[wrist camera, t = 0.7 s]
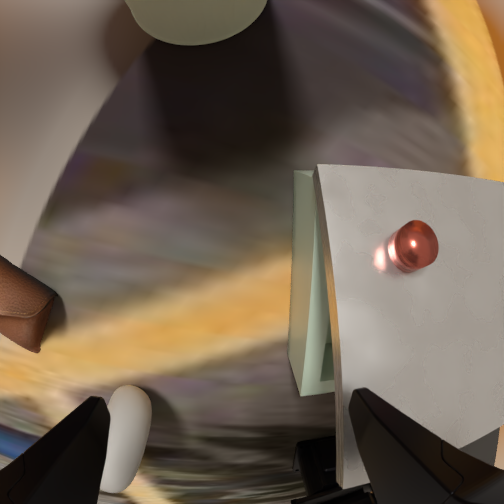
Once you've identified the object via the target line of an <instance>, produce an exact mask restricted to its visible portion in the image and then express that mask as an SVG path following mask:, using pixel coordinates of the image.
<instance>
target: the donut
mask: <svg viewBox="0 0 504 504" xmlns="http://www.w3.org/2000/svg"><path fill="white" fill-rule="evenodd" d="M107 408H108V410H109V412H110V416H111V421H110V429H109V438H108V447H107V456H106V462H105V466H104V471H103V476H102V480H101V485H100V489H101V490H103V491H105V492H109V493H118V492H121V491H123V490H124V489H126V488H127V487H128V486H129V485H130V484H131V482H132V481H133V479H134V477H135V475H136V473H137V470H138V468H139V465H140V462H141V459H142V456H143V453H144V450H145V446H146V443H147V439H148V435H149V430H150V425H151V418H152V406H151V401H150V399H149V397H148V395H147V394H146V393H145V392H144V391H143V390H141V389H140V388H138V387H136V386H132V385H124V386H121V387H119V388H118V389H117V390H115V391H114V393H113V395H112V397H111V399H110V401H109V404H108V406H107Z"/></svg>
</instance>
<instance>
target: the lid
mask: <svg viewBox="0 0 504 504" xmlns="http://www.w3.org/2000/svg"><path fill="white" fill-rule="evenodd" d="M312 177H313V184H314V190H315V196H316V203H317V210H318V217H319V224H320V231H321V239H322V247H323V255H324V263H325V272H326V281H327V291H328V301H329V312H330V323H331V336H332V350H333V366H334V384H335V410H336V481H337V483H338V484H339V485H340V486H341V487H342V489H347V488H351V487H355V486H359V485H363V484H366V483H370V481H369V478H368V475H367V473H366V470H365V467H364V465H363V462H362V459H361V457H360V454H359V451H358V448H357V444H356V440H355V436H354V432H353V428H352V423H351V419H350V415H349V411H348V406H349V402H350V399H351V395H352V392H353V390H354V389H357V388H362V387H366V388H368V389H369V390H371V391H372V392H374V393H375V394H377V395H378V396H379V397H381V398H382V399H384V400H385V401H387V402H388V403H390V404H391V405H392V406H394V407H395V408H397V409H398V410H400V411H401V412H403V413H404V414H406V415H407V416H409V417H410V418H412V419H413V420H415V421H416V422H418V423H419V424H421V425H422V426H424V427H425V428H427V429H428V430H430V431H431V432H433V433H434V434H436V435H437V436H439V437H440V438H441V439H444V440H445V441H447V442H448V443H450V444H451V445H453V446H455V447H456V448H458V449H460V450H461V451H463V452H465V453H467V454H469V455H471V456H473V457H475V458H477V459H479V460H482V461H484V462H486V463H488V464H490V465H492V466H494V463H495V457H496V451H497V444H498V437H499V428H500V426H502V425H503V424H504V182H499V181H493V180H487V179H480V178H474V177H467V176H460V175H452V174H444V173H436V172H427V171H417V170H407V169H395V168H383V167H368V166H350V165H326V164H317V166H316V168H315V170H314V172H313V174H312Z"/></svg>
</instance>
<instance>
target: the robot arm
mask: <svg viewBox="0 0 504 504" xmlns="http://www.w3.org/2000/svg"><path fill="white" fill-rule="evenodd" d="M348 411H349V415H350V419H351V423H352V428H353V432H354V436H355V440H356V444H357V448H358V451H359V454H360V457H361V459H362V462H363V465H364V467H365V470H366V473H367V475H368V478H369V481H370V483H366V484H363V485H359V486H355V487H351V488H347V489H342V487H341V486H340V485H339V484H338V483H337V481H336V436H334V437H328V438H323V439H317V440H310V441H304V442H299V443H297V445H296V451H295V457H294V462H293V468H292V469H293V472H301V474H302V479H303V483H304V487H305V491H306V495H307V497H303V498H300V499H294V500H291V504H504V470H502V469H499V468H497V467H495V466H492V465H490V464H488V463H486V462H484V461H482V460H479V459H477V458H475V457H473V456H471V455H469V454H467V453H465V452H463V451H461V450H460V449H458V448H456V447H455V446H453V445H451V444H450V443H448V442H447V441H445V440H444V439H441V438H440V437H439V436H437V435H436V434H434V433H433V432H431V431H430V430H428V429H427V428H425V427H424V426H422V425H421V424H419V423H418V422H416V421H415V420H413V419H412V418H410V417H409V416H407V415H406V414H404V413H403V412H401V411H400V410H398V409H397V408H395V407H394V406H392V405H391V404H390V403H388V402H387V401H385V400H384V399H382V398H381V397H379V396H378V395H377V394H375V393H374V392H372V391H371V390H369V389H368V388H366V387H362V388H357V389H354V390H353V392H352V395H351V399H350V402H349V406H348ZM110 421H111V416H110V412H109V410H108V408H107V405H106V403H105V400H104V399H103V398H102V397H98V396H90V397H89V398H88V399H86V400H85V401H84V402H83V403H82V404H81V405H79V406H78V407H77V408H76V409H75V410H73V411H72V412H71V413H70V414H69V415H67V416H66V417H65V418H64V419H63V420H62V421H60V422H59V423H58V424H57V425H56V426H54V427H53V428H52V429H51V430H50V431H48V432H47V433H46V434H45V435H44V436H42V437H41V438H40V439H39V440H38V441H37V442H35V443H34V444H33V445H32V446H31V447H29V448H28V449H27V450H26V451H25V452H24V454H23V453H22V454H21V455H20V456H18V457H17V458H16V459H15V460H14V461H12V462H11V463H10V464H8V465H7V466H6V467H4V468H3V469H1V470H0V504H97V501H98V495H99V490H100V485H101V480H102V476H103V471H104V466H105V462H106V456H107V447H108V438H109V429H110Z"/></svg>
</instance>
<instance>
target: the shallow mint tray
mask: <svg viewBox="0 0 504 504" xmlns="http://www.w3.org/2000/svg"><path fill="white" fill-rule="evenodd" d="M313 172H314V171H310V170H294V191H293V240H292V271H291V295H290V316H289V334H288V351H287V354H288V357H289V360H290V364H291V367H292V370H293V374H294V377H295V380H296V383H297V387H298V390H299V393H300V396H308V395H315V394H322V393H329V392H335V384H334V366H333V350H332V336H331V323H330V312H329V301H328V291H327V281H326V272H325V263H324V255H323V247H322V239H321V231H320V224H319V217H318V210H317V203H316V196H315V190H314V184H313V177H312V174H313Z"/></svg>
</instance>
